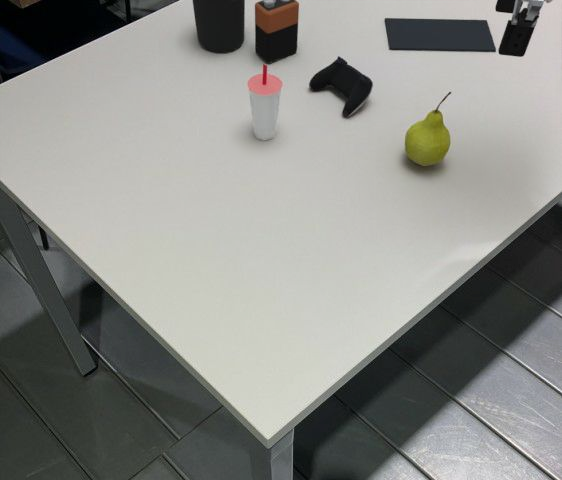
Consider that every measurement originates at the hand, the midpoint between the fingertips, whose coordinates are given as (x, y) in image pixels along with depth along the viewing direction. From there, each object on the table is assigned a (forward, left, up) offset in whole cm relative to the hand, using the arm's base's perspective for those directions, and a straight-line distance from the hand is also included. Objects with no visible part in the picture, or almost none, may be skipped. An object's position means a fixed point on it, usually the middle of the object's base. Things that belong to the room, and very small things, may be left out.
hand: (508, 32), depth 80 cm
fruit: (+6, 0, -23) cm, 24 cm away
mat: (+11, -36, -23) cm, 44 cm away
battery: (+38, -19, -23) cm, 49 cm away
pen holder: (+49, -19, -23) cm, 58 cm away
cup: (+32, +3, -23) cm, 40 cm away
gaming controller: (+23, -11, -23) cm, 35 cm away
